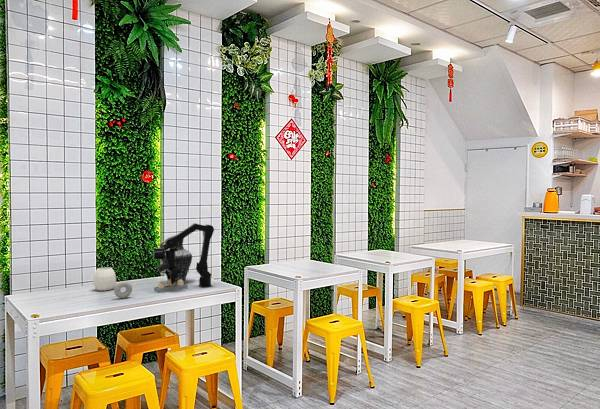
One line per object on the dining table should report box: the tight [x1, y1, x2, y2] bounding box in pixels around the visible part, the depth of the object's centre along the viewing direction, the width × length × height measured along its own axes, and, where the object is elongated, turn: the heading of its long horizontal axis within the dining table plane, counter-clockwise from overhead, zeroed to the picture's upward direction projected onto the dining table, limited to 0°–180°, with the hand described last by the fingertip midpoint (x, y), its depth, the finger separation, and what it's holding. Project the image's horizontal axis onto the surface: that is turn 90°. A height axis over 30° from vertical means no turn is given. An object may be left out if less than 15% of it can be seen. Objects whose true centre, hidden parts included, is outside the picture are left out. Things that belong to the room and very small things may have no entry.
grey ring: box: [113, 280, 133, 299], centre depth 280 cm, size 10×4×10 cm, turn 121°
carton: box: [153, 279, 189, 293], centre depth 303 cm, size 19×7×6 cm, turn 128°
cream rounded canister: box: [92, 266, 117, 292], centre depth 305 cm, size 13×13×14 cm
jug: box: [159, 238, 193, 284], centre depth 325 cm, size 21×19×30 cm
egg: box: [167, 279, 175, 287], centre depth 303 cm, size 4×4×5 cm
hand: (171, 283), depth 303 cm, fingers closed on egg, 4 cm apart
